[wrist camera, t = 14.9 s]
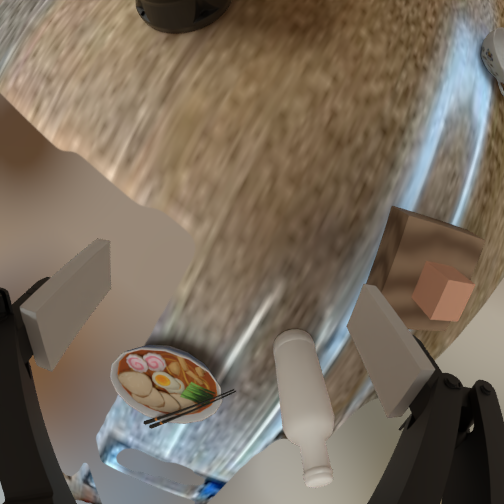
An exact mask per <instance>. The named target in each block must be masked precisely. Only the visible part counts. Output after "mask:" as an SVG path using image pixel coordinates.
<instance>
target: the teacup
mask: <svg viewBox="0 0 504 504" xmlns="http://www.w3.org/2000/svg"><path fill="white" fill-rule="evenodd" d="M481 57H482V60H483V62H484V65H485V66H486V68H487V69H488V70H489V72H490V73H491V74H492V75H493V76H494V77H495V78H496V79H497V81H498V85H499V89H500V91H501V93H502V94H503V96H504V90H503V88H502V85H501V82H502V83H504V28H497V29H495V30H493V31H492V32H490V33H489V34H488V35H487V36H486V38H485V39H484V42H483V45H482V52H481Z"/></svg>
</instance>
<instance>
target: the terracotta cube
mask: <svg viewBox="0 0 504 504" xmlns="http://www.w3.org/2000/svg"><path fill="white" fill-rule="evenodd" d="M474 287H475V284H474V283H473V282H471V281H470V280H469V279H468V278H466V277H465V276H464V275H463V274H462V273H460V272H459V271H458V270H457V269H455V268H454V267H452V266H448V265H443V264H439V263H434V262H430V261H426V263H425V265H424V268H423V270H422V273H421V275H420V278H419V280H418V283H417V285H416V288H415V290H414V292H413V295H412V297H411V298H412V299H413V300H414V301H415V302H416V303H417V305H418V306H419V307H420V308H421V309H422V310H423V312H424V313H425V314H426V315H427V316H428V318H429V319H430V320H443V321H458V320H459V318H460V316H461V314H462V312H463V310H464V308H465V306H466V304H467V302H468V300H469V298H470V296H471V293H472V291H473V289H474Z"/></svg>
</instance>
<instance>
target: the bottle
mask: <svg viewBox="0 0 504 504" xmlns="http://www.w3.org/2000/svg"><path fill="white" fill-rule="evenodd" d="M273 348H274V349H273V353H274V359H275V365H276V374H277V382H278V391H279V399H280V408H281V417H282V426H283V431H284V433H285V435H286V436H287V438H288V439H289V441H290V442H291V443H293V444H295V445H297V446H299V447H300V450H301V457H302V464H303V470H304V474H303V479H304V480H305V485H306V486H308V487H311V488H316V487H322V486H325V485H328V484H329V483H331V482H332V480H333V476H332V474H333V470H332V468H331V466H330V461H329V457H328V452H327V447H326V443H325V441H326V440H327V439H328V438H329V437H330V435H331V434H332V432H333V427H334V414H333V410H332V406H331V403H330V399H329V395H328V392H327V388H326V385H325V381H324V377H323V374H322V370H321V367H320V363H319V360H318V357H317V353H316V349H315V344H314V342H313V339H312V337H311V336H310V334H309V333H307V332H306V331H304V330H300V329H290V330H287V331H284V332H283V333H281V334H280V335H278V336H277V338H276V339H275V341H274V344H273Z"/></svg>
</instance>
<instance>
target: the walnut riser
mask: <svg viewBox="0 0 504 504" xmlns="http://www.w3.org/2000/svg"><path fill="white" fill-rule="evenodd" d="M484 243H485V240H484V239H482V238H480V237H479V236H477V235H475V234H473V233H472V232H470V231H468V230H466V229H463V228H460V227H457V226H454V225H451V224H448V223H446V222H443V221H440V220H437V219H433V218H430V217H427V216H424V215H421V214H418V213H415V212H411V211H408V210H405V209H401V208H398V207H395V206H392V207H391V211H390V214H389V218H388V221H387V224H386V227H385V231H384V234H383V237H382V240H381V243H380V246H379V249H378V252H377V255H376V258H375V261H374V263H373V266H372V269H371V272H370V275H369V277H368V280H367V283H366V284H368V285H374V286H376V287H377V288H378V289H379V291H380V292H381V293H382V295H383V296H384V297H385V299H386V300H387V301H388V303H389V304H390V305H391V307H392V308H393V309H394V311H395V312H396V313H397V315H398V316H399V317H400V319H401V320H402V322H403V323H404V324H405V326H406V327H407V329H414V330H432V331H446V329H447V327H448V326H449V324H450V322H451V321H443V320H430V319H429V318H428V316H427V315H426V314H425V313H424V312H423V310H422V309H421V308H420V307H419V306H418V305H417V303H416V302H415V301H414V300H413V299H412V298H411V297H412V295H413V292H414V290H415V288H416V285H417V283H418V280H419V278H420V275H421V273H422V270H423V268H424V265H425V263H426V261H430V262H434V263H439V264H443V265H448V266H452V267H454V268H455V269H457V270H458V271H459V272H460V273H462V274H463V275H464V276H465V277H466V278H468V279H469V280H470V279H471V277H472V275H473V272H474V270H475V267H476V265H477V262H478V260H479V257H480V254H481V252H482V249H483V246H484Z"/></svg>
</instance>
